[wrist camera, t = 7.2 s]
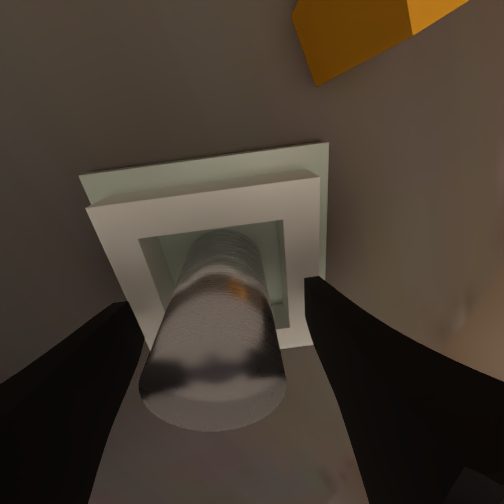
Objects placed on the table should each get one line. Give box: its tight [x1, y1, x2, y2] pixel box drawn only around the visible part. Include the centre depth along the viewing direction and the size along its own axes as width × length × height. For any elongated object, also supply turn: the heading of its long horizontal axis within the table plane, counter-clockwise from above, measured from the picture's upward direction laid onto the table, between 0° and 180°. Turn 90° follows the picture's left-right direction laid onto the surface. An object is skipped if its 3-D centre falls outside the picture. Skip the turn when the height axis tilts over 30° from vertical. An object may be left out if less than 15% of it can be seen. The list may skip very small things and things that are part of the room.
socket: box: [79, 141, 329, 351], centre depth 12 cm, size 11×11×3 cm
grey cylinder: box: [139, 230, 286, 431], centre depth 10 cm, size 4×4×7 cm
